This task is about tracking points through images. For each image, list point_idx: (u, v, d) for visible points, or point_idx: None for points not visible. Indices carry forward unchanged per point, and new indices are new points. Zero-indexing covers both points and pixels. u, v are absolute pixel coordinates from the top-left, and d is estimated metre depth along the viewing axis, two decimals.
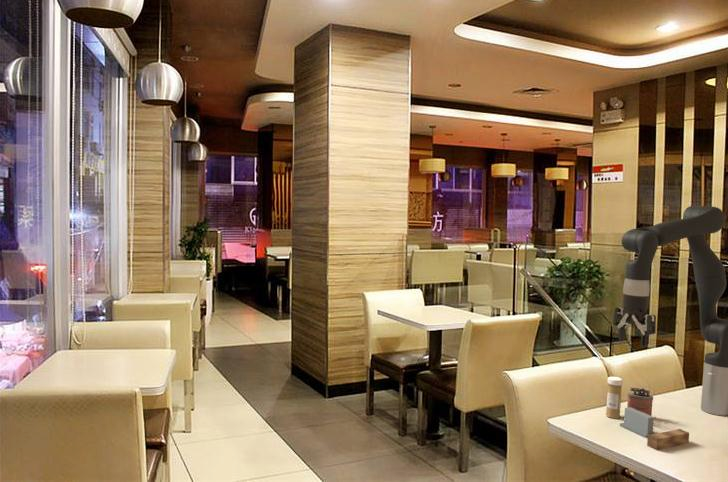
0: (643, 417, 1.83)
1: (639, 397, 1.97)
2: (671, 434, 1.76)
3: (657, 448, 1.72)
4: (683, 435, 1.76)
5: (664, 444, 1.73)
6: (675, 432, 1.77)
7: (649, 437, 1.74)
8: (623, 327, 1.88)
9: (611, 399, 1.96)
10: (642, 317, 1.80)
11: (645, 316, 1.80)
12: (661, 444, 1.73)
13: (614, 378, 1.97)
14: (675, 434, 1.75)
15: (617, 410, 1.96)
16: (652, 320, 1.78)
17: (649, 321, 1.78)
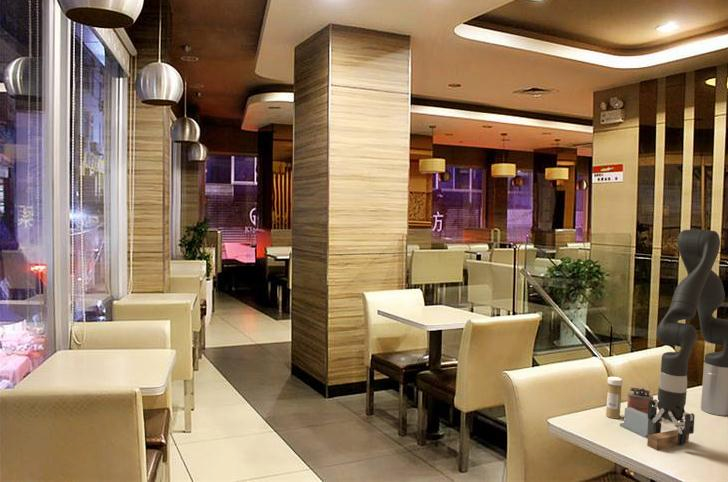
0: (643, 417, 1.83)
1: (639, 397, 1.97)
2: (671, 434, 1.76)
3: (657, 448, 1.72)
4: None
5: (664, 444, 1.73)
6: (675, 432, 1.77)
7: (649, 437, 1.74)
8: (658, 421, 1.79)
9: (611, 399, 1.96)
10: (680, 415, 1.71)
11: (683, 414, 1.71)
12: (661, 444, 1.73)
13: (614, 378, 1.97)
14: (675, 434, 1.75)
15: (617, 410, 1.96)
16: (691, 419, 1.69)
17: (687, 421, 1.69)
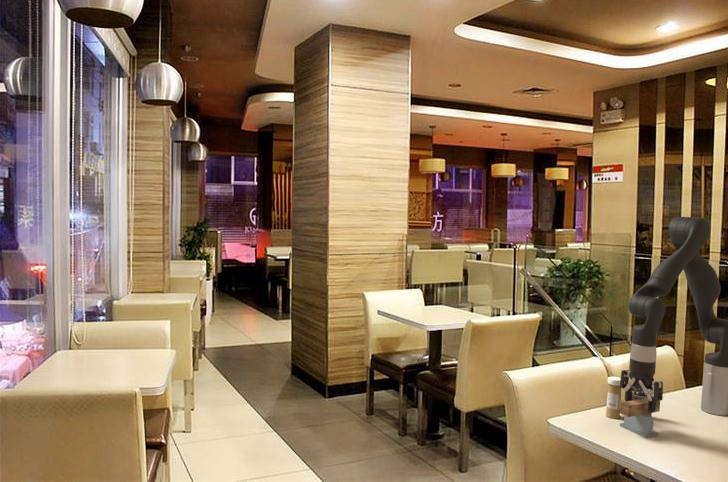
0: (643, 417, 1.83)
1: (639, 397, 1.97)
2: (642, 401, 1.86)
3: (629, 414, 1.82)
4: None
5: (635, 410, 1.83)
6: (647, 400, 1.87)
7: (622, 404, 1.84)
8: (630, 390, 1.89)
9: (611, 399, 1.96)
10: (649, 383, 1.81)
11: (652, 382, 1.81)
12: (633, 410, 1.82)
13: (614, 378, 1.97)
14: (646, 402, 1.85)
15: (617, 410, 1.96)
16: (659, 387, 1.79)
17: (656, 388, 1.78)
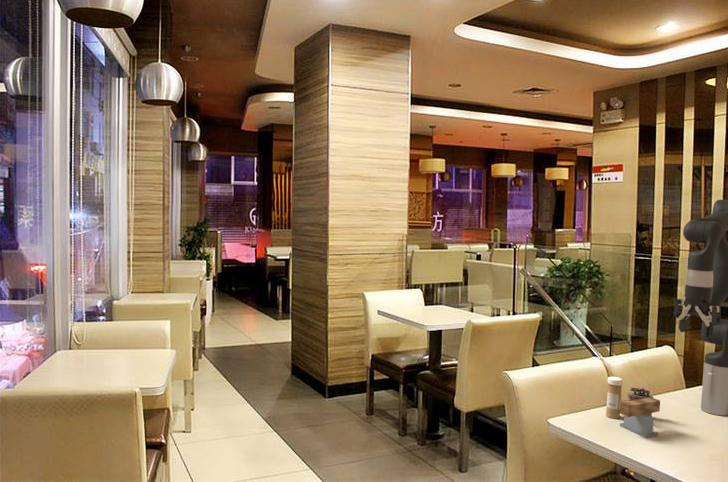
0: (643, 417, 1.83)
1: (639, 397, 1.97)
2: (642, 401, 1.86)
3: (629, 414, 1.82)
4: (654, 402, 1.86)
5: (635, 410, 1.83)
6: (647, 400, 1.87)
7: (622, 404, 1.84)
8: (684, 319, 1.86)
9: (611, 399, 1.96)
10: (706, 308, 1.78)
11: (709, 307, 1.78)
12: (633, 410, 1.82)
13: (614, 378, 1.97)
14: (646, 402, 1.85)
15: (617, 410, 1.96)
16: (717, 311, 1.76)
17: (714, 312, 1.76)
